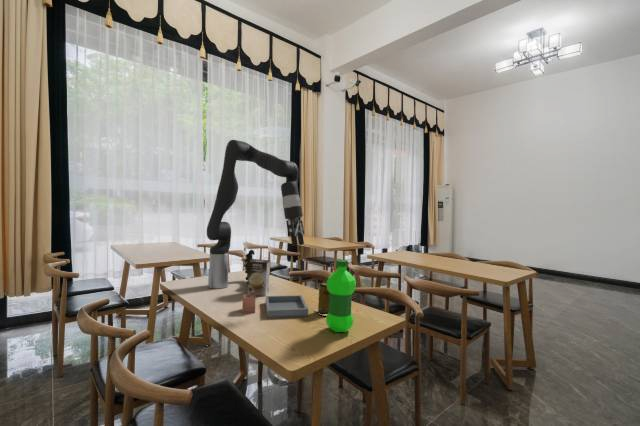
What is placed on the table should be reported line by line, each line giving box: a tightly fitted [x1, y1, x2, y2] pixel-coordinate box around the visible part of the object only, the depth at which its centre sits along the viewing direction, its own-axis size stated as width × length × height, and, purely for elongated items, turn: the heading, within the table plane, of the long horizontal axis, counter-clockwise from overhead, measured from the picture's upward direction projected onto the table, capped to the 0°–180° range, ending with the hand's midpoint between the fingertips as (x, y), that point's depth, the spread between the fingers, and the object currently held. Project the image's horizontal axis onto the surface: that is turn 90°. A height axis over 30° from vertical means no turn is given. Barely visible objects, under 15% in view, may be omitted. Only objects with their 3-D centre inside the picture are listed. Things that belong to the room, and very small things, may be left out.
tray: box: [265, 294, 309, 319], centre depth 129 cm, size 16×18×3 cm
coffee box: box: [247, 258, 271, 297], centre depth 149 cm, size 9×6×16 cm
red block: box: [241, 294, 257, 314], centre depth 126 cm, size 5×5×6 cm
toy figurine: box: [244, 249, 270, 284], centre depth 163 cm, size 9×19×25 cm
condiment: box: [313, 281, 330, 318], centre depth 126 cm, size 7×8×12 cm
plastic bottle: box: [325, 259, 357, 333], centre depth 110 cm, size 10×10×25 cm
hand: (298, 245), depth 128 cm, fingers open, 8 cm apart
